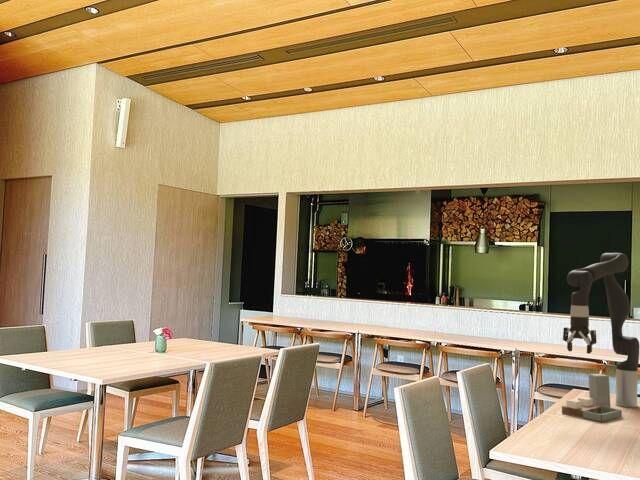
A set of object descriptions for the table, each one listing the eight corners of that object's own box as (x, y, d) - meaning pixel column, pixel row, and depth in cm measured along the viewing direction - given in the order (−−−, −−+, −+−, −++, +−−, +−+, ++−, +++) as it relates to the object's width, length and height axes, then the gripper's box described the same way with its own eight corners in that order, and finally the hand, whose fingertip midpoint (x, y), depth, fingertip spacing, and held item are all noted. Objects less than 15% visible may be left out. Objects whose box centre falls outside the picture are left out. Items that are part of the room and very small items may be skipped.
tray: (603, 413, 270) (603, 406, 270) (621, 417, 263) (621, 410, 264) (582, 418, 259) (583, 410, 259) (601, 422, 252) (601, 414, 252)
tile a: (582, 403, 276) (583, 396, 276) (592, 405, 272) (592, 398, 272) (577, 404, 273) (578, 397, 273) (587, 406, 269) (587, 399, 269)
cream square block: (571, 405, 269) (571, 399, 270) (581, 407, 266) (581, 401, 266) (566, 406, 267) (566, 400, 267) (576, 409, 263) (576, 402, 263)
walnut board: (580, 409, 277) (580, 402, 277) (601, 413, 270) (601, 406, 270) (561, 413, 267) (561, 406, 268) (583, 417, 260) (583, 410, 260)
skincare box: (610, 410, 276) (611, 376, 277) (595, 410, 276) (595, 375, 277) (602, 406, 285) (603, 373, 285) (587, 406, 285) (588, 372, 286)
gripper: (599, 316, 263) (599, 353, 262) (568, 314, 274) (568, 349, 273) (591, 317, 258) (591, 355, 257) (560, 314, 269) (559, 350, 268)
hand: (579, 352), depth 265 cm, fingers open, 8 cm apart
